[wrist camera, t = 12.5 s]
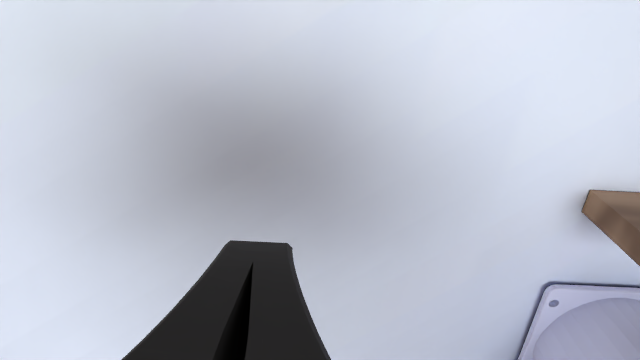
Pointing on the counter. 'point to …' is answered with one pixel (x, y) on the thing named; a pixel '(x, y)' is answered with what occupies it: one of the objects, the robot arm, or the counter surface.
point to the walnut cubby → (617, 218)
